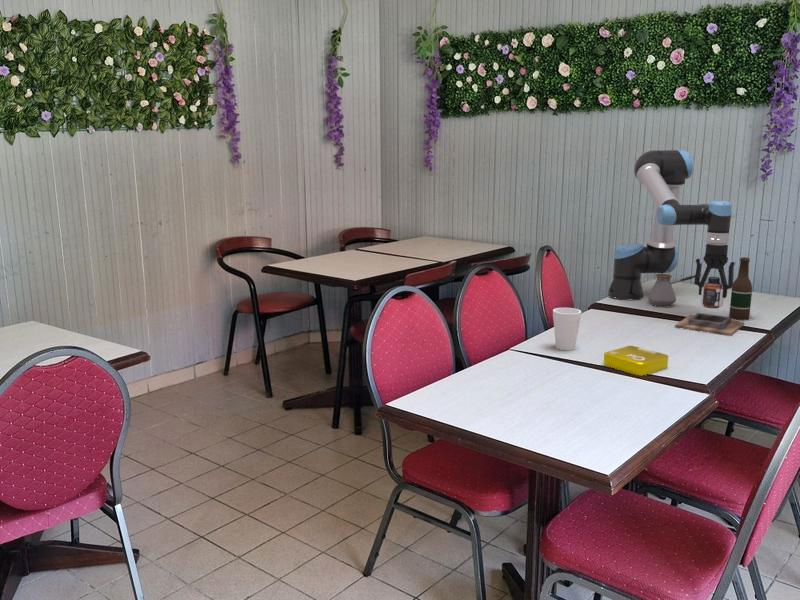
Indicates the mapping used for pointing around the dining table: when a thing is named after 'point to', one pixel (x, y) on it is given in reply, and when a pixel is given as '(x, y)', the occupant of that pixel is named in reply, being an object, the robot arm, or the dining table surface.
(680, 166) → the robot arm
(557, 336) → the foam cup
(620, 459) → the dining table surface
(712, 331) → the holder board
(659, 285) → the coffee pot
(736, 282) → the beer bottle
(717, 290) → the supplement bottle
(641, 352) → the element tile
